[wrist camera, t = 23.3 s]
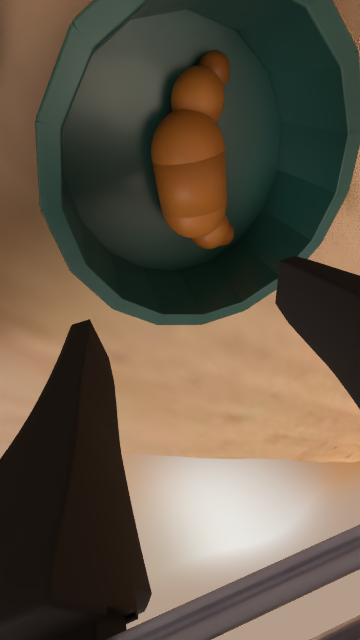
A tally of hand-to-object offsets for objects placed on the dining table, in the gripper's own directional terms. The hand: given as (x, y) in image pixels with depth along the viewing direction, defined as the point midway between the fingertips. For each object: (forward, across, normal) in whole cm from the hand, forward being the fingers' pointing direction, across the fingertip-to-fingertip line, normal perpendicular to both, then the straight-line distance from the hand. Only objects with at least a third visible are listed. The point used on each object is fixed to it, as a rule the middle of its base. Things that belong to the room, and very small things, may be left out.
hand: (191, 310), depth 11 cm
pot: (+10, -3, -2) cm, 11 cm away
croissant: (+10, -3, -2) cm, 11 cm away
